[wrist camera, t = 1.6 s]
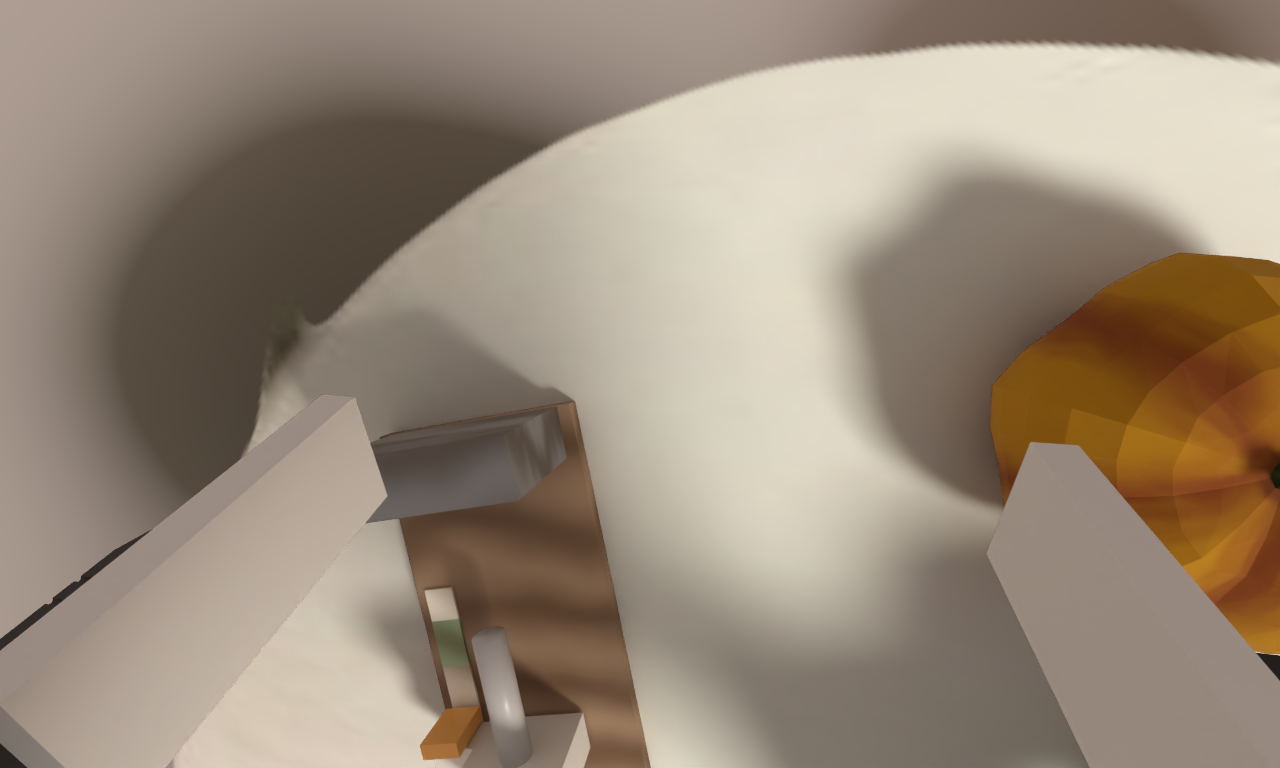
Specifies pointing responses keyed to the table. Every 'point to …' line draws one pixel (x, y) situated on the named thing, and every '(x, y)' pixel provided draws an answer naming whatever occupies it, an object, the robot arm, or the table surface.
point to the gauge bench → (515, 567)
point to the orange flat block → (451, 733)
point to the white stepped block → (516, 720)
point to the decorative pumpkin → (1172, 418)
